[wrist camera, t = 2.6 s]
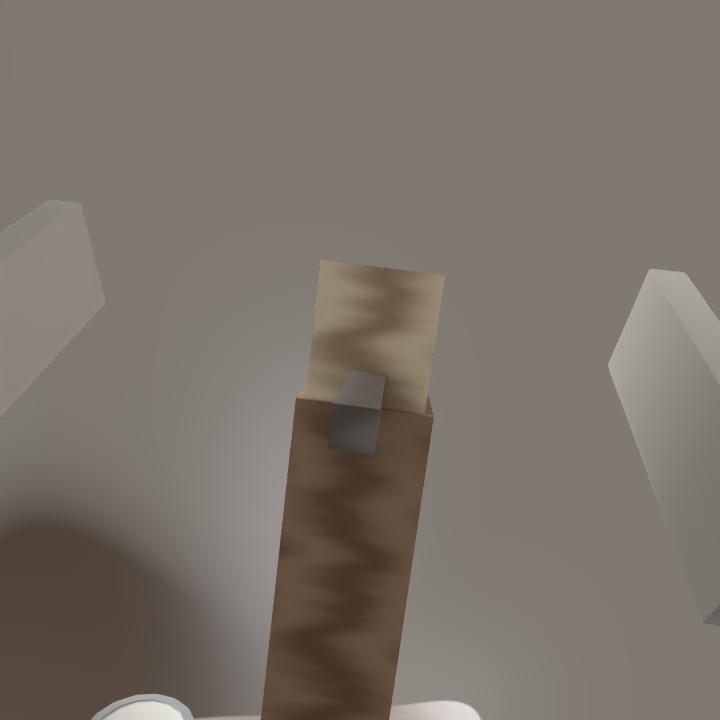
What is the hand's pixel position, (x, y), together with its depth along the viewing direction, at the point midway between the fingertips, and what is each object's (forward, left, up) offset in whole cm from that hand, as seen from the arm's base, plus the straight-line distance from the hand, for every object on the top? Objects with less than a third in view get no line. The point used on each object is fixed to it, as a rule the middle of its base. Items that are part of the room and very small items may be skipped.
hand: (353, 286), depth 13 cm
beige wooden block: (0, +17, -7) cm, 18 cm away
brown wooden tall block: (0, +21, -36) cm, 42 cm away
